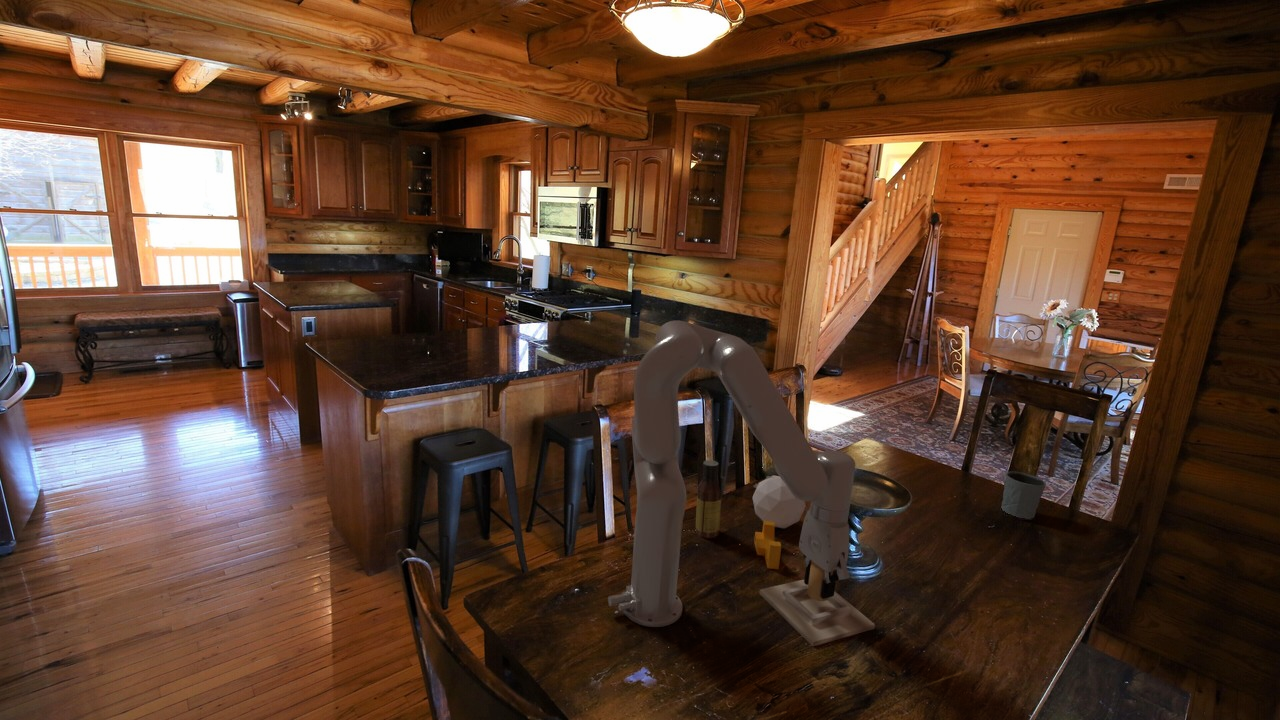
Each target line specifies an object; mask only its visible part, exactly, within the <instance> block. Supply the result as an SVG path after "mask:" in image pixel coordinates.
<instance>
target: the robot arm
mask: <svg viewBox="0 0 1280 720" xmlns="http://www.w3.org/2000/svg"><path fill="white" fill-rule="evenodd" d="M760 358H761V357H760V356H759V355H758V354H757V352H756V351H755V350H754V348H753V347H752V346H751V345H750V344H748V343H747V342H746V341H745V340H743V339H742V338H741V337H739V336H736V335H733V334H730V333H726V332H722V331H719V330H715V329H711V328H707V327H705V326H701V325H698V324H695V323H691V322H688V321H683V320H680V319H679V320H670V321H666V322H665V323H664V324H662V325H661V326H660V327H659V328H658V329H657V331H656V334H655V337H654V345H653V346H652V347H651V348H649V350H647V352H646V353H645V354H644V355H643V357H642V358H641V360H639V363H638V365H637V368H636V370H635V373H634V379H633V405H634V406H633V407H634V409H633V410H634V415H633V417H632V419H631V436H632V437H631V440H632V454H633V465H634V466H633V467H634V475H635V476H634V477H635V482H636V483H635V486H636V496H637V497H636V498H637V499H636V512H635V518H634V519H635V521H634V532H633V533H634V534H633V535H634V536H633V548H632V550H633V551H632V554H633V555H632V566H631V580H630V581H631V582H630V584H628V585H626V586H625V591H622V593H620V594H615V595H614V594H613V595H609V596H608V597H607V603H608V606H609V607H613V606H618V611H619V612H623V613H624V615H625V616H626V617H627V618H628V619H629V620H630V621H632V622H634V623H636V624H637V625H640V626H644V627H650V628H661V627H666V626H670V625H671V624H674V623H675V622H677V621H678V620H679V619H680V618H681V616H682V613H683V602H682V601H681V598H680V597H679V596H678V595H677V589H678V588H677V587H678V576H679V566H680V565H679V563H680V554H681V553H680V552H681V543H682V542H681V540H682V530H683V520H684V516H685V513H686V512H685V511H686V506H687V490H686V485H685V481H684V478H683V475H682V472H681V470H680V466H679V457H678V452H679V449H680V448H681V443H682V441H681V440H682V433H681V429H680V428H681V427H680V418H679V417H680V416H679V415H680V414H679V387H680V383H681V382H682V380H683V379H684V377H685V376H686V375H688V374H689V373H690V372H692V371H693V370H694V369H696V368H698V369H703V370H707V371H711V372H715V373H716V374H717V377H718V378H719V379H720V381H721V383H722V384H723V387H724V388H725V390H726V391H727V393H728V394H729V396H730V398H731V400H732V402H733V403H734V404H735V406H736V408H737V410H738V412H739V413H740V416H741V417H742V419H743V420H744V422H745V423H746V425H747V427H748V429H749V430H750V432H751V433H752V434H753V436H754V437H755V438H756V439H757V441H758V442H759V443H760V444H761V446H762V447H763V448H764V450H765V451H766V452H767V453H768V456H769V457H770V458H771V460H772V461H773V463H774V468H775V471H776V474H778V475H777V476H780V478H781V479H782V480H783V482H784V483H785V484H786V486H787V487H788V488H789V490H790V492H791V493H792V494H793V495H794V496H795V497H796V498H797V499H799V500H802V501H805V503H806V502H807V503H810V507H809V509H808V510H807V511H806V513H805V516H804V519H803V523H802V528H801V531H800V537H799V542H798V547H799V550H800V552H801V553H802V555H803V558H804V562H803V564H804V566H805V573H804V579H803V580H804V583H805V584H806V585H808V582H809V575H810V567H811V561H813V562H814V563H815V564H817V565H818V566H819V567H820V568H822V569H823V570H824V571H825V580H823V581H822V587H821V594H820V597H821V598H822V599H825V598H829V597H832V596H834V592H836V584H837V582H839V581H841V580H845V579H849V578H850V574H849V570H848V567H847V564H848V559H849V558H848V557H849V549H850V525H849V522H848V520H849V515H850V514H849V513H850V507H851V499H852V494H853V487H854V481H855V480H854V479H855V472H856V461H855V459H854V458H853V457H852V456H851V455H850V454H848V453H845V452H842V451H837V450H825V451H824V450H823V451H820V450H814V449H813V447H812V446H811V444H810V442H809V441H808V440H807V438H806V436H805V434H804V433H803V432H802V430H801V428H800V426H799V425H798V423H797V421H796V420H795V418H794V416H793V414H792V411H790V409H789V407H788V406H787V404H786V402H785V401H784V399H783V398H782V395H781V393H780V392H779V390H778V389H777V387H776V385H775V383H774V381H773V380H772V377H771V376H770V375H769V373H768V370H767V369H766V367H765V366H764V364H763V362H762V360H761V359H760ZM831 571H833V573H832V575H831V573H830V572H831Z"/></svg>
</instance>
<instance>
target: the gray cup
mask: <svg viewBox="0 0 1280 720" xmlns="http://www.w3.org/2000/svg"><path fill="white" fill-rule="evenodd" d="M1046 485H1047V482H1046V481H1044V480H1043V479H1042V478H1040V477H1038V476H1036V475H1032V474H1029V473H1025V472H1021V471H1020V472H1019V471H1007V472H1006V473H1005V480H1004V487H1003V488H1004V489H1003V494H1002V501H1001V507H1000V509H1001V508H1002V510H1003V511H1005V512H1006V513H1008V514H1011V515H1013V516H1016V517H1019V518H1025V519H1031V518H1035V515H1036V513H1037V512H1036V511H1037V510H1038V509H1037V508H1038V507H1039V503H1040V500H1041V498H1042V496H1043V493H1044V491H1045V488H1046Z"/></svg>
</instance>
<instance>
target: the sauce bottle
mask: <svg viewBox="0 0 1280 720" xmlns="http://www.w3.org/2000/svg"><path fill="white" fill-rule="evenodd" d="M719 468H720V464H719V462H718V461H716V460H711V459H710V460H709V459H708V460H707V459H706V460H704V461H703V463H702V469H703V473H702V479H701V480H700V482H699V484H698V486H697V496H696V510H695V511H696V514H695V533H696V534H697V535H698V536H700V537H702V538H705V539H714V538H716V537H718V535H719V530H720V526H721V525H720V523H721V508H722V507H721V505H722V492H721V489H720V484H719V480H718V478H719V477H718V472H719Z"/></svg>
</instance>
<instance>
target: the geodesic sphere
mask: <svg viewBox="0 0 1280 720" xmlns="http://www.w3.org/2000/svg"><path fill="white" fill-rule="evenodd" d="M765 477H766V478H765V479H764V480H762V481H759V482H757V483H755V484H754V485H753V486H752V487H753V488H755V491H754V493H753V496H752V501H753V502H752V503H753V506H754V512H755V513H754V514H755V515H756V516H757V517H758V518H759V519H760V520H761V521H762V522H764V521H770V522H774V524H775V528H780V529H786V528H788V527H790V526H792V525H794V524H796V523H798V522H800V520H801V518H802V515H803V513H804V510H805V508H806V505H807V504H806V502H805V501H802V500H799V499H797V498H796V497H795V496H794V495H793V494H792V493H791V492H790V490H789V488H788V487H787V486H786V484H785V483H784V482H783V480H782V479H781V478H780V476H779V475H771V476H769V475H767V476H765Z"/></svg>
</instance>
